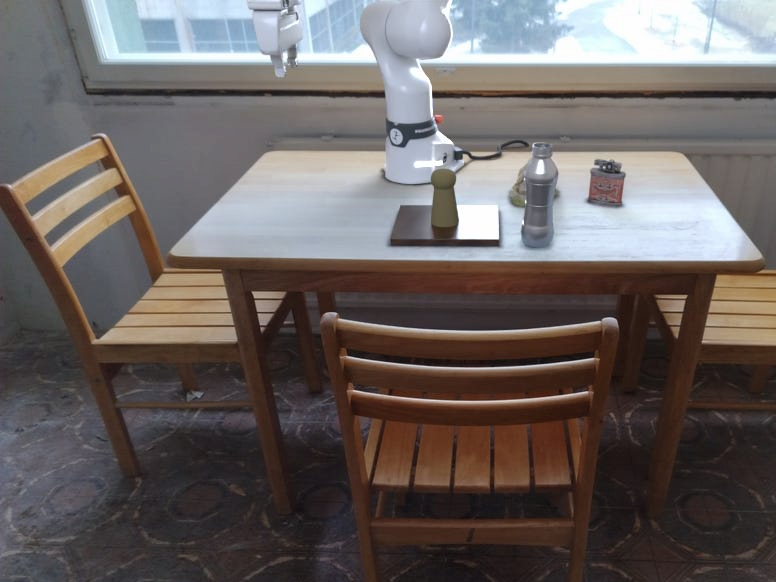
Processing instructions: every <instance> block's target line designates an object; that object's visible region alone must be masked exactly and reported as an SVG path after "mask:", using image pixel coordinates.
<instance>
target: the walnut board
mask: <svg viewBox="0 0 776 582" xmlns="http://www.w3.org/2000/svg"><path fill="white" fill-rule="evenodd" d="M457 210H458V216H459V223H458V224H457V225H455V226H451V227H438V226H435V225H433V224H431V213H432V204H400V205H399V208H398V211H397V215H396V218H395V220H394V225H393V228H392V231H391V235H390V238H389V243H390V247H492V248H493V247H500V214H499V205H483V204H482V205H474V204H473V205H472V204H471V205H470V204H468V205H467V204H463V205H461V204H457Z"/></svg>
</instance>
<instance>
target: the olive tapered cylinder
mask: <svg viewBox="0 0 776 582" xmlns="http://www.w3.org/2000/svg"><path fill="white" fill-rule="evenodd" d="M430 183H431V185H432V187H433V190H432V202H431V203H432V204H431V205H432V213H431V224H433V225H435V226H438V227H451V226H455V225H457V224H458V223H459V216H458V210H457V205H458V204H457V199H456V192H455V186H456V183H457V175H456V172H455V173H454V171H452V170H450V169H437V170H435V171H433V173H432V175H431V182H430Z"/></svg>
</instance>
